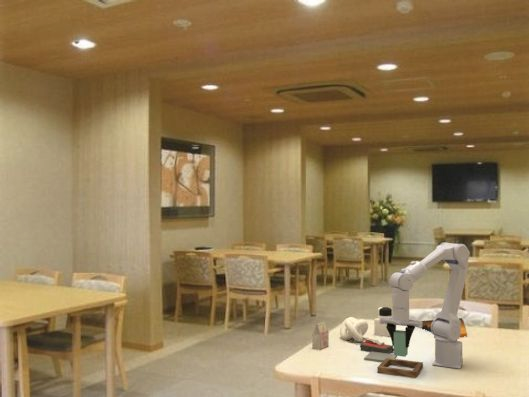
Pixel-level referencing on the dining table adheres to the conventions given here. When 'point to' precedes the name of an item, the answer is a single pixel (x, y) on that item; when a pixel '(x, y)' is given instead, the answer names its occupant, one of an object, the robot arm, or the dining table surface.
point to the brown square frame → (413, 373)
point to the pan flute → (427, 324)
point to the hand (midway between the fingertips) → (400, 346)
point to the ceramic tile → (378, 356)
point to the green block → (400, 343)
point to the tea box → (320, 337)
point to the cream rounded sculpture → (353, 329)
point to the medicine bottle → (381, 328)
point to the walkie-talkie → (375, 346)
